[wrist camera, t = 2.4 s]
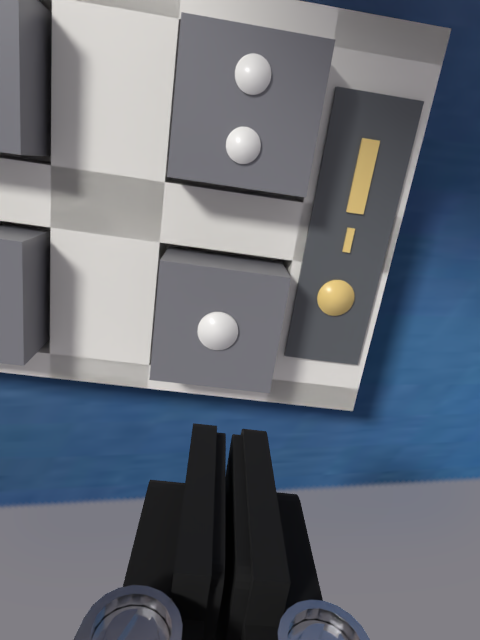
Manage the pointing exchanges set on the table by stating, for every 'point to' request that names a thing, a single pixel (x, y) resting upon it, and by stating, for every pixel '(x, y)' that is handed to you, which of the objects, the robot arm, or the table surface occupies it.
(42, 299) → the cross key
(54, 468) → the table surface
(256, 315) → the dot key
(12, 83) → the bar key
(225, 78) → the pair key
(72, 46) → the keypad
